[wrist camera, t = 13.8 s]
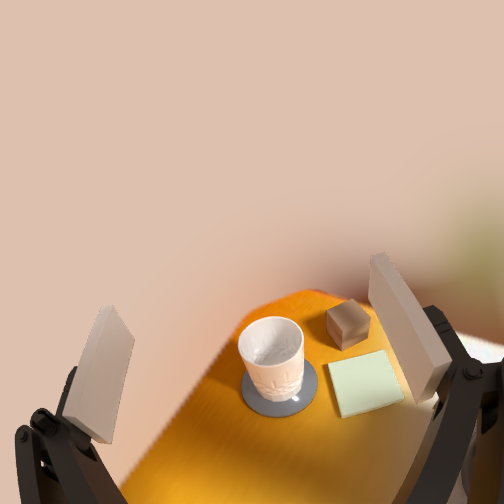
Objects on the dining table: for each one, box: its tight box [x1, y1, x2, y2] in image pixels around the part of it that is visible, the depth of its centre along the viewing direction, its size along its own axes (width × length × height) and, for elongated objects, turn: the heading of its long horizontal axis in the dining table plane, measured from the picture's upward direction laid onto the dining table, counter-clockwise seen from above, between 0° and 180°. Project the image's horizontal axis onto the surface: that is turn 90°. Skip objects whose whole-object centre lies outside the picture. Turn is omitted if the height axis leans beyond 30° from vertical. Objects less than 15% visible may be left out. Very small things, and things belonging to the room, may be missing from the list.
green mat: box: [328, 350, 404, 418], centre depth 37 cm, size 9×9×1 cm
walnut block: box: [326, 298, 371, 351], centre depth 45 cm, size 5×5×5 cm
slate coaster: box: [241, 359, 317, 418], centre depth 40 cm, size 11×11×1 cm
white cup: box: [238, 317, 304, 402], centre depth 37 cm, size 8×8×10 cm
